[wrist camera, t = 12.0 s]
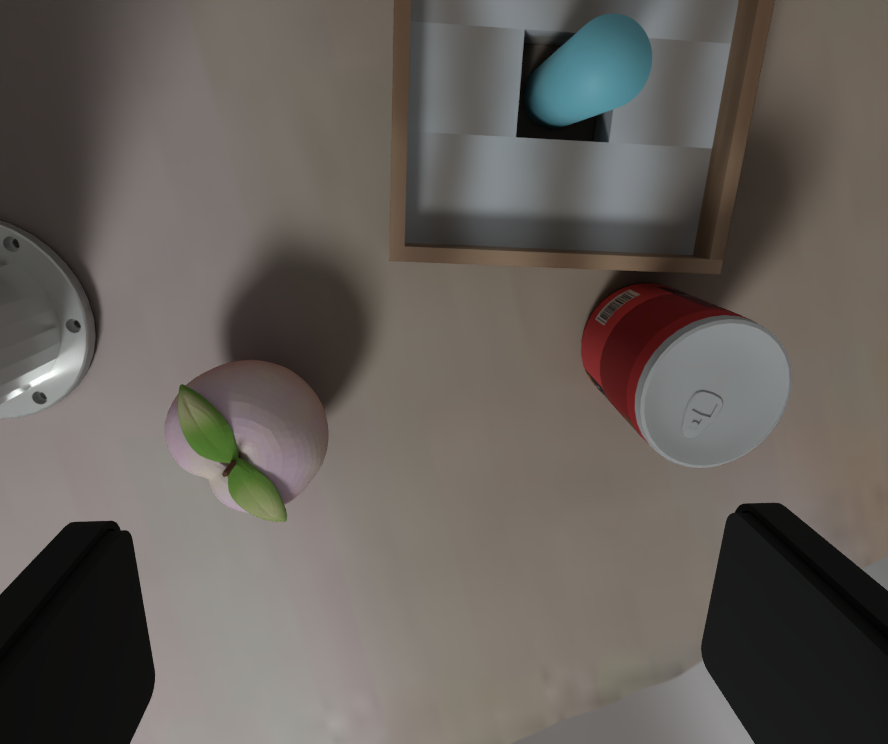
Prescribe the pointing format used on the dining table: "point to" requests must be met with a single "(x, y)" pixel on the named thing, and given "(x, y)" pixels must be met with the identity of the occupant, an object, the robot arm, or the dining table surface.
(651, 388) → the canned food
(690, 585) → the dining table surface
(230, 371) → the decorative fruit
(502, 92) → the bore box
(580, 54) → the peg
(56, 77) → the dining table surface
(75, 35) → the dining table surface
